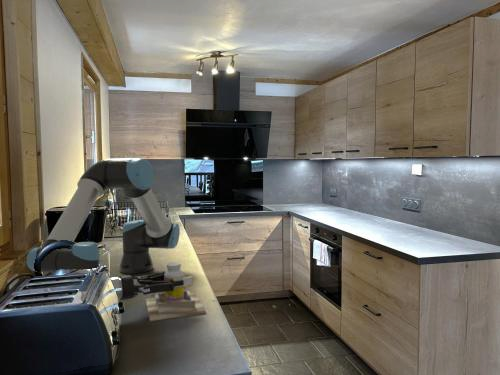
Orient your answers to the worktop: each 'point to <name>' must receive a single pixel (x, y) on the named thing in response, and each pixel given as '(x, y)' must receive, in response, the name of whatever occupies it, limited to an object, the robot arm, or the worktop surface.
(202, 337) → the worktop surface
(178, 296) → the supplement bottle
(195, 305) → the holder board
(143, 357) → the worktop surface
